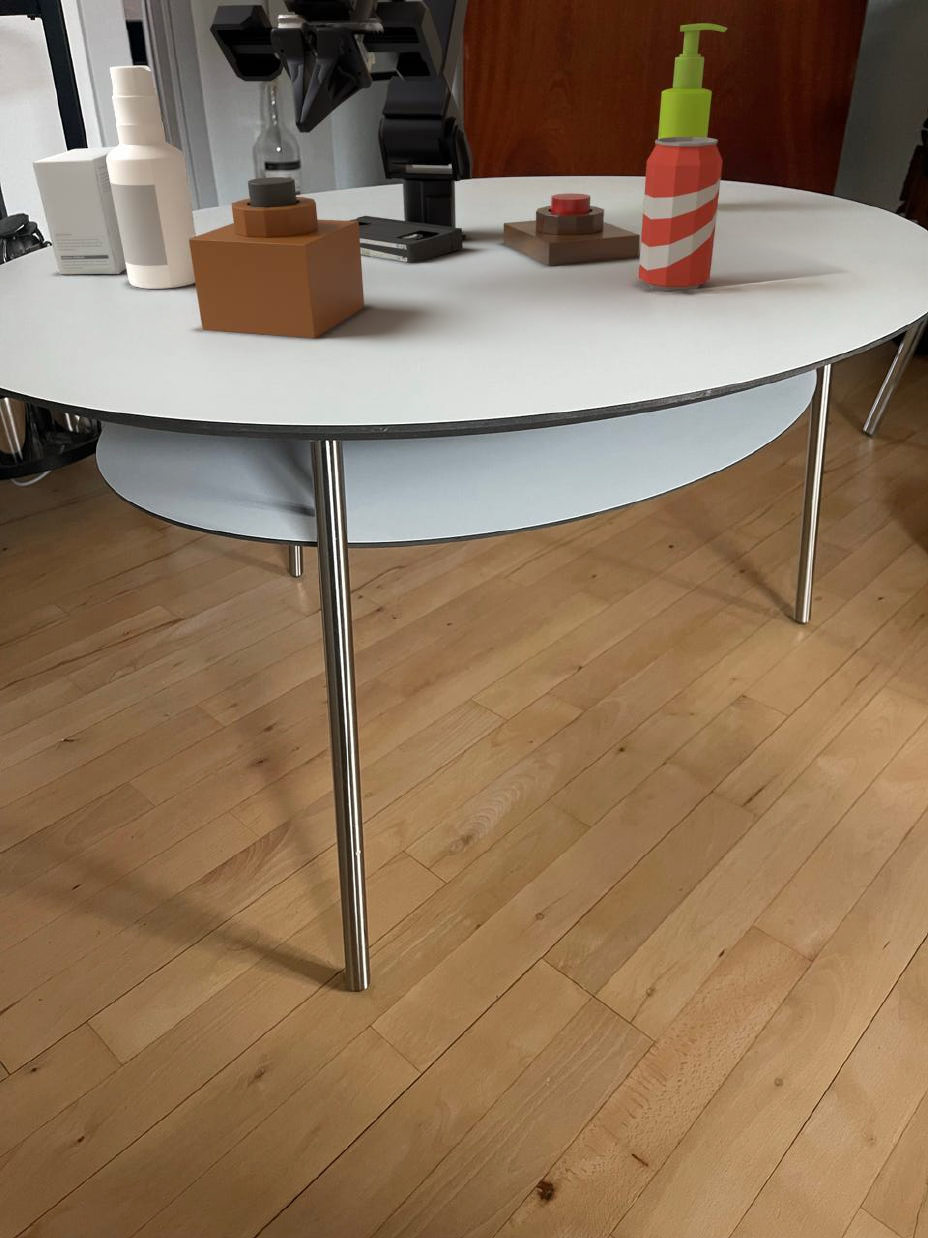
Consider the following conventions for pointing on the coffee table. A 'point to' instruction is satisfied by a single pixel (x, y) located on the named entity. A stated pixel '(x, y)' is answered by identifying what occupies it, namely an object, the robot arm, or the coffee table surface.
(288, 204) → the dark grey button
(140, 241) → the spray bottle
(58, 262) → the cosmetics box
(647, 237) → the beverage can
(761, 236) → the coffee table surface
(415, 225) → the vhs tape
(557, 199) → the red button
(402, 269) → the coffee table surface
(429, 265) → the coffee table surface
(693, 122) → the soap dispenser
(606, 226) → the switch box
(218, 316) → the brown push button box
